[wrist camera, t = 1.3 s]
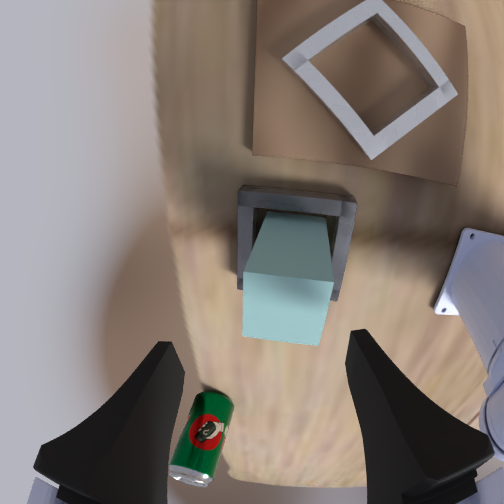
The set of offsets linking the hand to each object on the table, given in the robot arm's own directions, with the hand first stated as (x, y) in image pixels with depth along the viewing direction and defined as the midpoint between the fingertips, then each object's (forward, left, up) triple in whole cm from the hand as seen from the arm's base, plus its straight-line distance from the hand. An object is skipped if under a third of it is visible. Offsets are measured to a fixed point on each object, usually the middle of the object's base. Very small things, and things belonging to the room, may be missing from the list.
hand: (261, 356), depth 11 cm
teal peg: (-1, 0, -11) cm, 11 cm away
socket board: (-5, -12, -11) cm, 17 cm away
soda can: (+6, +23, -11) cm, 26 cm away
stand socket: (-1, 0, -11) cm, 11 cm away
